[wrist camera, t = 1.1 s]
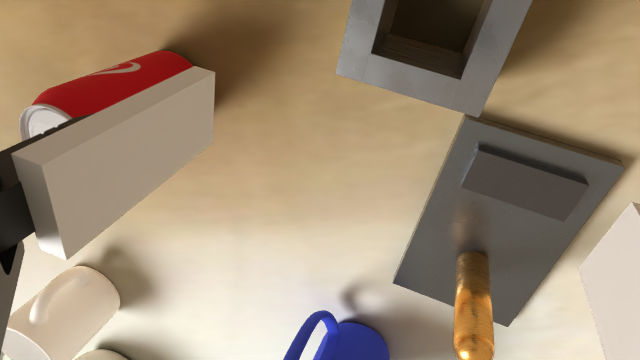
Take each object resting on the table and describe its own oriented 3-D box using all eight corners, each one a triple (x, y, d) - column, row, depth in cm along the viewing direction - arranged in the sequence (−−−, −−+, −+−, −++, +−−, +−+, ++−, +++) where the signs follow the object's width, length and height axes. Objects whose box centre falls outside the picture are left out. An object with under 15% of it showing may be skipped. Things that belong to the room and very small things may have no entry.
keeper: (464, 113, 27) (462, 188, 19) (620, 160, 25) (694, 266, 17) (394, 275, 36) (371, 376, 27) (506, 318, 34) (519, 438, 26)
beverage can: (139, 45, 32) (-6, 89, 23) (206, 51, 31) (82, 101, 21) (154, 118, 36) (33, 184, 26) (216, 127, 34) (112, 201, 24)
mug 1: (68, 232, 48) (-17, 293, 40) (127, 264, 48) (53, 333, 39) (69, 291, 55) (-3, 354, 47) (121, 320, 55) (57, 389, 46)
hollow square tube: (394, -89, 23) (374, -99, 18) (538, -56, 22) (558, -56, 17) (359, 50, 27) (335, 73, 22) (476, 85, 26) (478, 117, 21)
